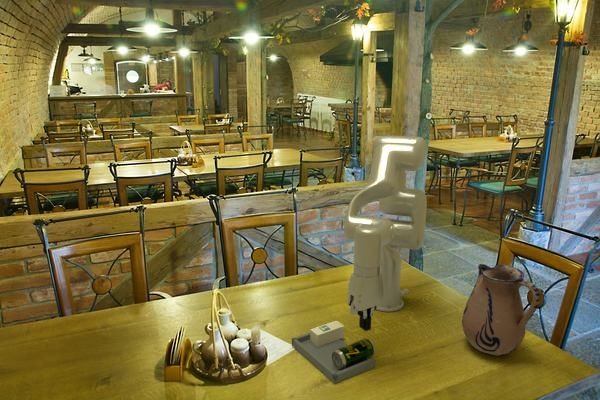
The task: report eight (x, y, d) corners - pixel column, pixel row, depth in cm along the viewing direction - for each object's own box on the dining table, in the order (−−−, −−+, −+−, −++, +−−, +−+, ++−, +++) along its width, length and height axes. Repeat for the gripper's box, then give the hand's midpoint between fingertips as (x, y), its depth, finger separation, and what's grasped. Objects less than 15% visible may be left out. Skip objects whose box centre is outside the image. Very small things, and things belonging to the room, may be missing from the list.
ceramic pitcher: (476, 326, 159) (483, 254, 153) (543, 351, 145) (555, 274, 138) (449, 347, 147) (455, 270, 141) (519, 377, 133) (530, 293, 126)
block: (336, 319, 153) (310, 328, 148) (344, 325, 150) (317, 334, 145) (336, 331, 154) (310, 341, 149) (344, 337, 151) (317, 347, 146)
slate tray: (329, 332, 156) (329, 325, 155) (374, 366, 138) (374, 359, 137) (291, 345, 148) (291, 338, 148) (334, 383, 130) (334, 375, 130)
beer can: (374, 359, 140) (341, 374, 134) (362, 348, 144) (330, 361, 138) (377, 345, 138) (344, 358, 132) (365, 333, 142) (332, 346, 136)
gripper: (378, 259, 141) (376, 316, 146) (337, 270, 134) (336, 330, 138) (396, 267, 135) (393, 326, 140) (354, 279, 128) (352, 342, 132)
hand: (365, 328), depth 139 cm, fingers closed
